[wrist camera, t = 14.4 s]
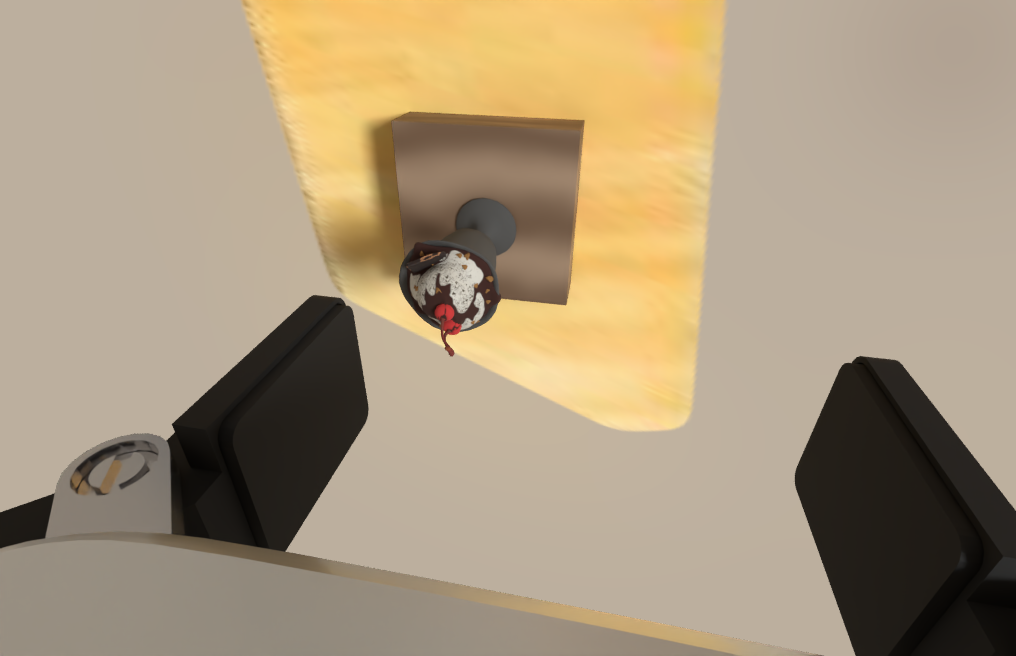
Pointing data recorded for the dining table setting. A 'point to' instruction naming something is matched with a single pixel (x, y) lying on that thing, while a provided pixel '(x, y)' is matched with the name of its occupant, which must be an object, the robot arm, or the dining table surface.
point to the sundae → (459, 269)
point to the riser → (495, 189)
